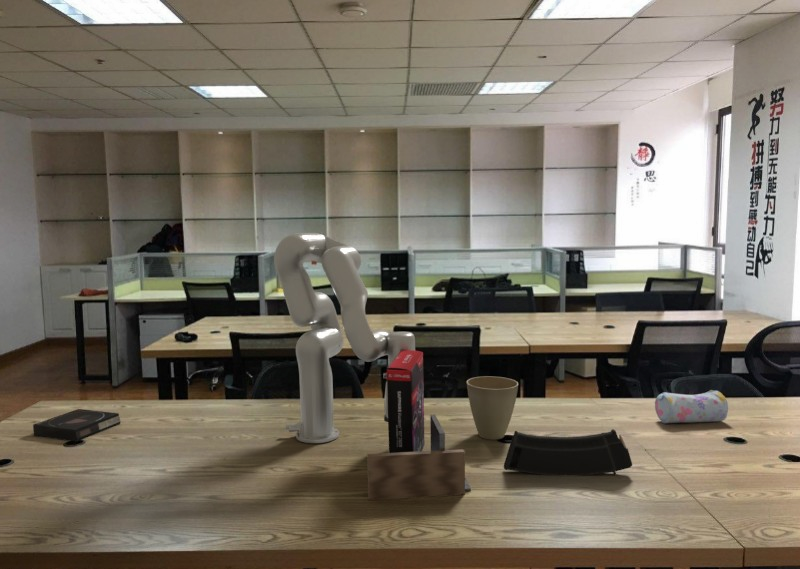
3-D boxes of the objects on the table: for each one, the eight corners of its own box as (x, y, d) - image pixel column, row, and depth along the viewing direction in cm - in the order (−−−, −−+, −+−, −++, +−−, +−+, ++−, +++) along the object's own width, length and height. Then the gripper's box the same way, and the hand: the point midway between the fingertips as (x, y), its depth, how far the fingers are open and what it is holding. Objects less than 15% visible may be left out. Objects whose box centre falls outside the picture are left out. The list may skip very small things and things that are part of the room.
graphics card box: (413, 475, 147) (413, 368, 143) (386, 472, 149) (385, 366, 144) (424, 446, 164) (425, 350, 160) (400, 444, 165) (399, 348, 161)
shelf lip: (368, 499, 134) (367, 456, 133) (368, 496, 135) (367, 454, 135) (464, 494, 136) (464, 451, 135) (463, 491, 138) (463, 449, 137)
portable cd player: (77, 443, 174) (76, 430, 174) (34, 437, 180) (33, 424, 179) (120, 425, 190) (120, 413, 189) (79, 420, 195) (78, 408, 195)
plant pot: (495, 448, 164) (495, 391, 163) (456, 435, 176) (455, 382, 174) (528, 435, 174) (528, 382, 173) (489, 424, 185) (489, 373, 184)
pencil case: (712, 415, 191) (713, 386, 190) (731, 424, 183) (732, 393, 182) (651, 419, 188) (652, 390, 187) (668, 428, 180) (668, 397, 179)
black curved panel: (494, 439, 146) (615, 405, 143) (493, 434, 149) (611, 401, 146) (515, 504, 147) (635, 472, 144) (513, 498, 151) (631, 466, 148)
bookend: (439, 492, 137) (439, 433, 136) (430, 468, 151) (430, 414, 150) (470, 491, 138) (470, 432, 137) (458, 467, 152) (458, 413, 150)
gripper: (376, 381, 161) (377, 447, 163) (431, 378, 163) (432, 444, 164) (374, 374, 168) (375, 438, 170) (426, 372, 170) (427, 434, 172)
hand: (403, 440), depth 167 cm, fingers closed
